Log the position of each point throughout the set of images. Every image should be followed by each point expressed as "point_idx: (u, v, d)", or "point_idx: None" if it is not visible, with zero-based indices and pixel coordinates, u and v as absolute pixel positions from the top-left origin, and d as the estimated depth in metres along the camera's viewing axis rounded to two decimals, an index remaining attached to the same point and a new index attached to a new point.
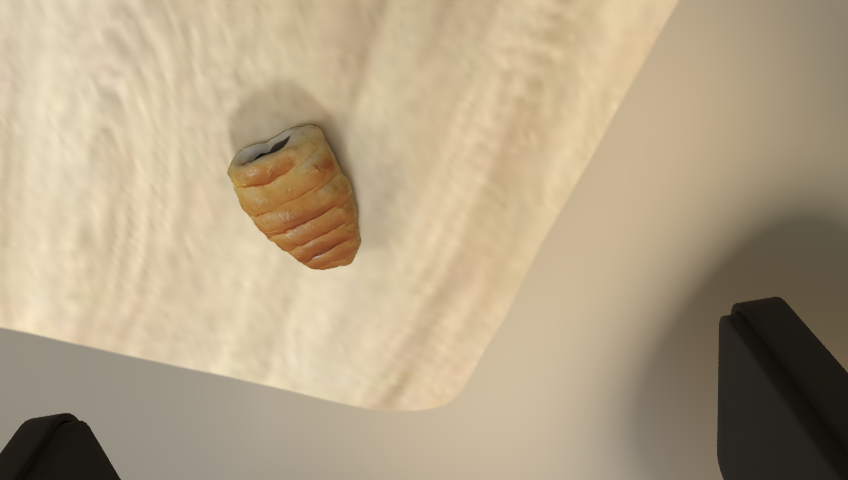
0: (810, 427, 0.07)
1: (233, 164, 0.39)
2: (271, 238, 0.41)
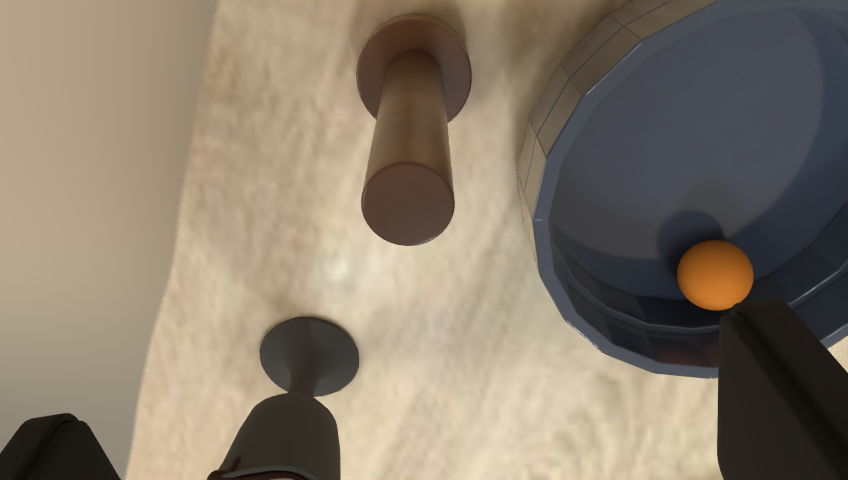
0: (810, 427, 0.07)
1: None
2: None
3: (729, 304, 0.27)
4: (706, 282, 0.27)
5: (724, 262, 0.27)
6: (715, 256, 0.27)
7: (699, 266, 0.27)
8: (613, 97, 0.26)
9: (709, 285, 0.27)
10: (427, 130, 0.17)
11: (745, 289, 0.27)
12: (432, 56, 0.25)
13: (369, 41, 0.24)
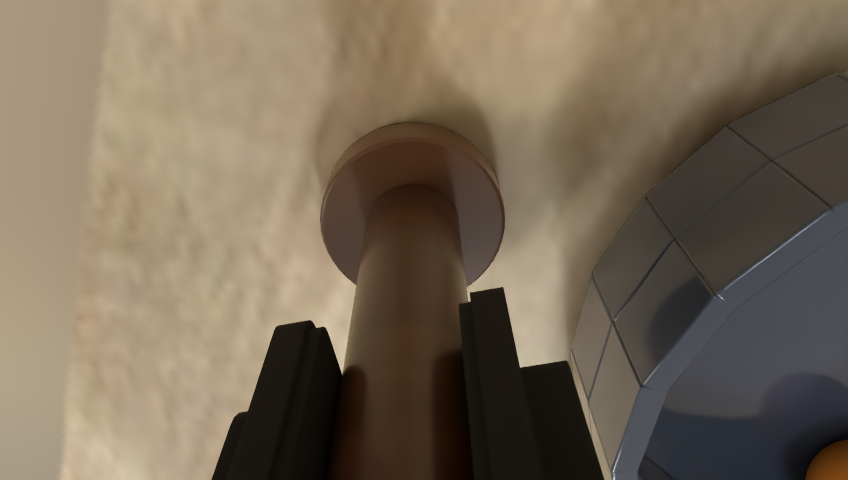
0: (472, 393, 0.08)
1: None
2: None
3: None
4: None
5: None
6: None
7: None
8: None
9: None
10: None
11: None
12: (442, 193, 0.15)
13: (339, 171, 0.15)
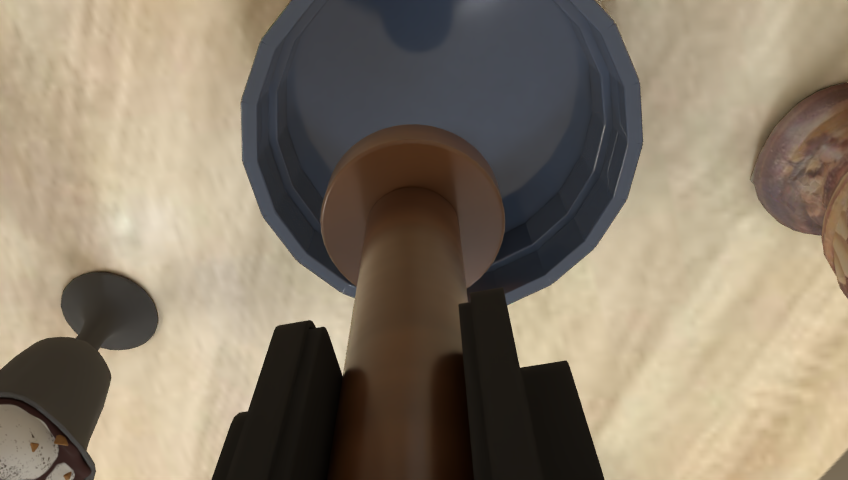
0: (471, 392, 0.08)
1: None
2: None
3: None
4: None
5: None
6: None
7: None
8: (341, 51, 0.28)
9: None
10: None
11: None
12: (442, 195, 0.15)
13: (340, 173, 0.15)
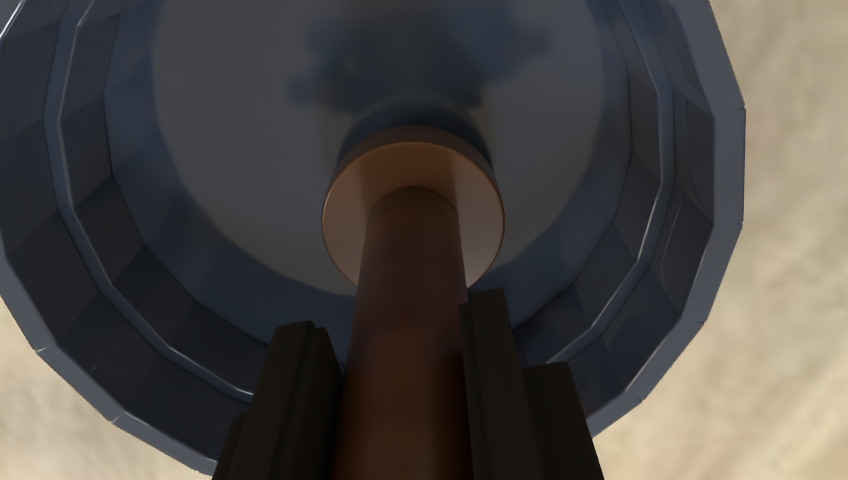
0: (471, 392, 0.08)
1: None
2: None
3: None
4: None
5: None
6: None
7: None
8: (192, 48, 0.16)
9: None
10: None
11: None
12: (442, 195, 0.15)
13: (340, 174, 0.15)
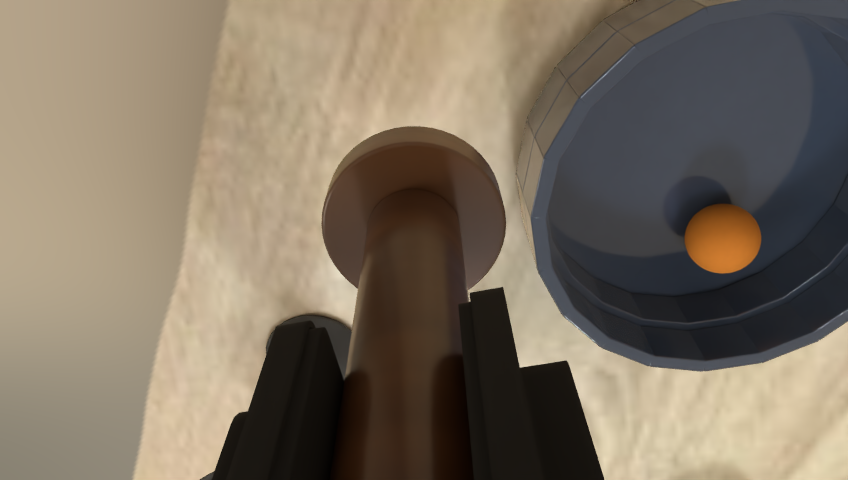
0: (471, 392, 0.08)
1: None
2: None
3: (738, 233, 0.27)
4: (711, 211, 0.28)
5: (726, 204, 0.28)
6: None
7: (703, 208, 0.28)
8: (608, 99, 0.27)
9: (714, 212, 0.28)
10: None
11: (752, 224, 0.27)
12: (443, 197, 0.15)
13: (341, 175, 0.15)
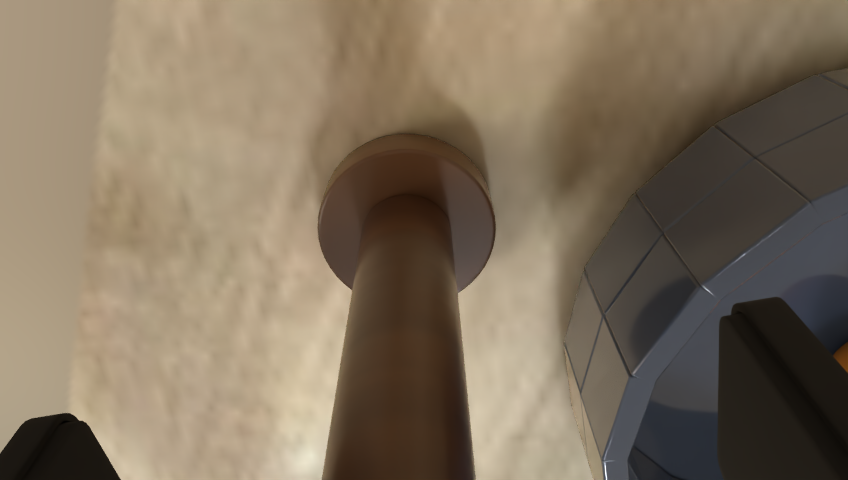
0: (810, 427, 0.07)
1: None
2: None
3: None
4: None
5: None
6: None
7: None
8: None
9: None
10: None
11: None
12: (435, 202, 0.16)
13: (336, 181, 0.16)
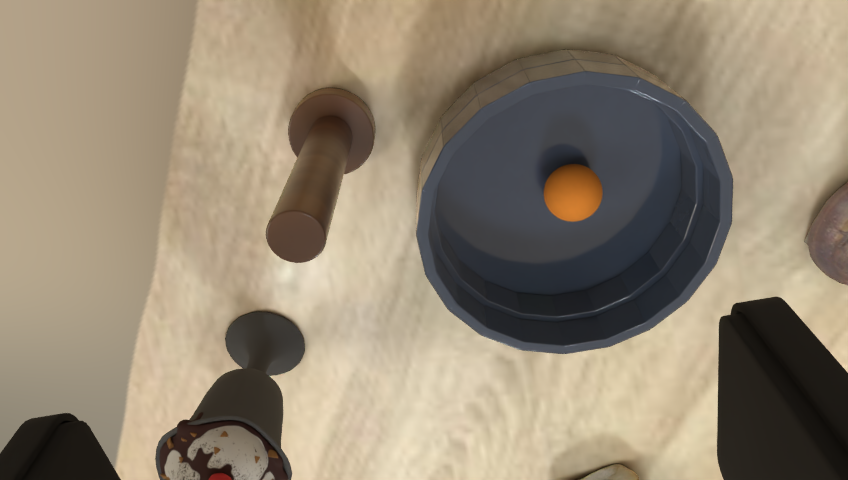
0: (810, 427, 0.07)
1: None
2: None
3: None
4: None
5: None
6: None
7: None
8: (484, 141, 0.35)
9: None
10: (315, 185, 0.26)
11: None
12: (343, 120, 0.33)
13: (296, 109, 0.33)
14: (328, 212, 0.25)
